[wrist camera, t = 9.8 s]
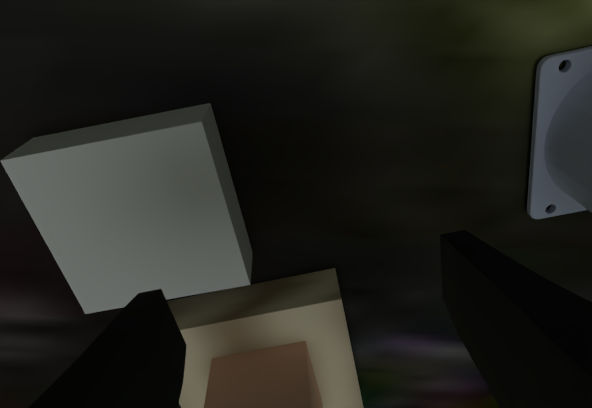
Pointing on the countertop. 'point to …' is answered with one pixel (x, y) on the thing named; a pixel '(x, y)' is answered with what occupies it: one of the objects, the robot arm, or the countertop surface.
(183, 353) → the robot arm
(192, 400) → the olive block
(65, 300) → the countertop surface
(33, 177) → the grey block
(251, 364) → the terracotta cube
